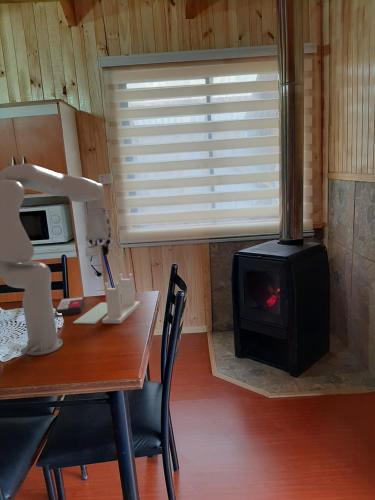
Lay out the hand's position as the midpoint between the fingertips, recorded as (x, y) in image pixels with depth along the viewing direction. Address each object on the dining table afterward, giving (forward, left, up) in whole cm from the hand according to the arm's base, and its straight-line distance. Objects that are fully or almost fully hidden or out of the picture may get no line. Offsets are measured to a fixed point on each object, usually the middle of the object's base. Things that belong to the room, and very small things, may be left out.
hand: (101, 254), depth 158 cm
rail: (0, 0, +1) cm, 1 cm away
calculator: (+4, +21, -28) cm, 35 cm away
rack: (0, -7, -27) cm, 28 cm away
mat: (0, +5, -27) cm, 27 cm away
